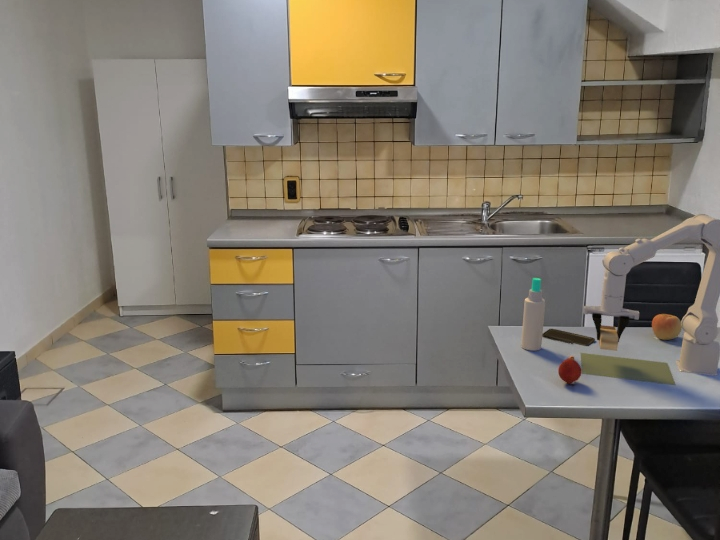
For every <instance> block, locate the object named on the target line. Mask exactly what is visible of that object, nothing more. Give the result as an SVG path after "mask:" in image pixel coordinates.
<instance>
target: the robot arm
mask: <svg viewBox="0 0 720 540" xmlns="http://www.w3.org/2000/svg"><path fill="white" fill-rule="evenodd" d="M684 240H693V241H701V242H702V243H703V245H704V246H705V247H706V248H707V249H708V255H707V258H706V262H705V264H704V265H705V266H704V268H703V272H702V275H701V280H700V282H699V286H698V290H697V293H696V296H695V297H696V298H695V299H694V300H695V301H694V303H693V304H692V305H690V306H689V307H688V309H687V311H686V314H685V315H684V316H683V317H682V319H681V320H680V321H681V327H682V328H681V330H683V334H682V335H683V337H682V342H681V349H680V356H679V357H680V358H679V360H675V363H676V366H677V368H678V370H679V372H681V373H682V372H683V373H691V374H701V375H707V376H718V367H719V361H720V343H719V341H715V340H716V339H717V337H718V335H719V330H718V322H719V318H718V315H717V312H716V309H717V305H718V303H719V302H718V301H719V298H720V219H719V218H718V219H717V218H715V217H712V216H710V215H708V214H705V213H699V214H696V215H694V216H693V217H690V218H686V219H685V220H684V221H682V222H681V223H679V224H678V225H675V226H674V227H671V228H670V229H667V231H665V232H663V233H661V234H659V235H656V236H655V237H653V238H651V239H647V238H639V237H638V238H637V239H635V240H634V241H635V242H633V243H631V244H629V245H627V246H625V247H619V249H618V250H612V251H610V252H608V253H606V255H605V256H604V258H603V259H602V263H601V264H602V265H603V267H604V268H605V269H604V276H603V283H602V291H601V293H602V294H601V300H600V305H590V306H589V305H584V306H583V311H582V312H583V313H582V314H583V315H591V316H592V320H593V324H594V326H595V331H596V340H597V341H599V340H600V328H601V325H602V321H603V320H602V317H603V316H606V317H613V318H615V317H616V318H618V320H617V328H616V331H617V335H618V338H619V339H618V343H620V339H621V336H622V334H623V332H624V331H625V329H626V328H627V326H628V325H629V323H630V319H634V320H637V321H638V320H639V318H640V312H639V310H634V309H633V310H632V309H627V308H623V306H624V297H625V289H626V281H627V280H626V279H627V275H628V273H629V272H631V269H632V268H634V267H635V266H638V265H640V264H641V263H644V262H646V261H648V260H651V259H652V258H654V257H655V256H656V254H657V252H658V251H659V250H662V249H664V248H666V247H667V248H668V247H669V246H671V245H674V244H676V243H678V242H681V241H684Z"/></svg>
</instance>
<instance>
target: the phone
mask: <svg viewBox="0 0 720 540" xmlns="http://www.w3.org/2000/svg"><path fill="white" fill-rule="evenodd" d="M542 338H545V339H549V340H553V341H558V342H561V343H565V344H566V343H567V344H570V343H571V345H574V344H575V345H578V346H580V345H581V346H584V347H588V346H590V345H591V344H594V343H595V342H594V341H595V340H596V339H595V338H596V337H591V336H587V335H583V334H579V333H573V332H568V331H564V330H560V329H557V328H556V329H555V328H549V329H547V330H546V331H545V332H543V334H542ZM593 342H594V343H593Z"/></svg>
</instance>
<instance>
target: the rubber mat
mask: <svg viewBox="0 0 720 540" xmlns="http://www.w3.org/2000/svg"><path fill="white" fill-rule="evenodd" d="M580 367H581V375H584V374H585V375H591V376H597V377H598V376H599V377H606V378H615V379H622V380H630V381H639V382H646V383H654V384H662V385H663V384H664V385H671V386H676V385H677V384H676V382H675V379H674V377H673V373H672V371H671V369H670V366H669V363H668V362H665V361H664V362H662V361H655V360H648V359H638V358H630V357H629V358H628V357H620V356H611V355H602V354H595V353H585V352H580Z"/></svg>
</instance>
